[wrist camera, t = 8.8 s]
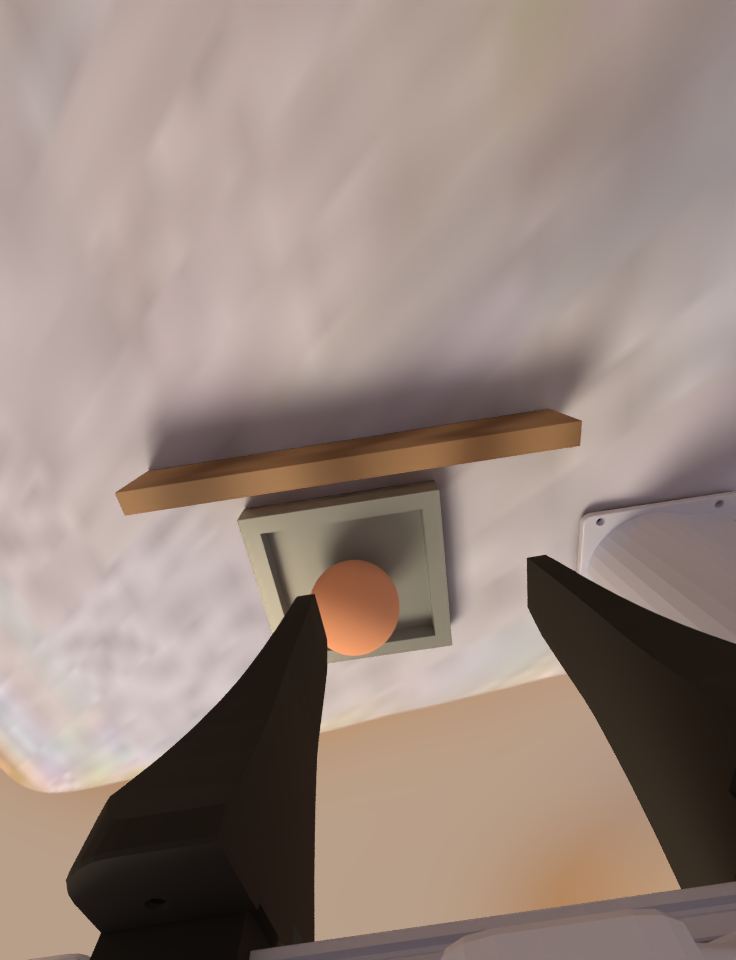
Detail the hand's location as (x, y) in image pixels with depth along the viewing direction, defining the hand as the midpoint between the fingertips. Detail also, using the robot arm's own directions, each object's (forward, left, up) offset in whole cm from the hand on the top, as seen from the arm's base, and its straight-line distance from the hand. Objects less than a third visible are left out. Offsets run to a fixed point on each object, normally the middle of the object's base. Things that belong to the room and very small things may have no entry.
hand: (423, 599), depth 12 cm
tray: (+3, +5, -9) cm, 11 cm away
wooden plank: (+2, -3, -9) cm, 10 cm away
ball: (+3, +5, -6) cm, 9 cm away
